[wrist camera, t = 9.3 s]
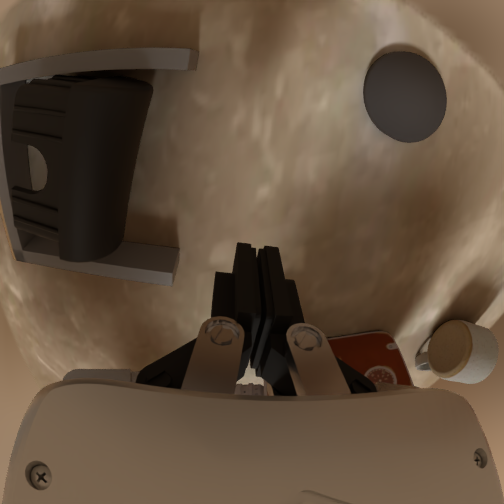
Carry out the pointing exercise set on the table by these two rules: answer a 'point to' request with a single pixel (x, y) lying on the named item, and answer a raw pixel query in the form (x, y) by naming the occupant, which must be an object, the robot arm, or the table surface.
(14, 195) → the end cap
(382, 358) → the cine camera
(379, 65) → the lens cap
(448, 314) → the table surface
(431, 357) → the ceramic mug
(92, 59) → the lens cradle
